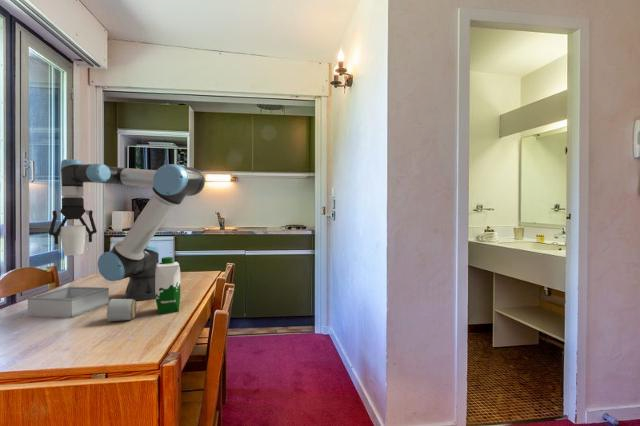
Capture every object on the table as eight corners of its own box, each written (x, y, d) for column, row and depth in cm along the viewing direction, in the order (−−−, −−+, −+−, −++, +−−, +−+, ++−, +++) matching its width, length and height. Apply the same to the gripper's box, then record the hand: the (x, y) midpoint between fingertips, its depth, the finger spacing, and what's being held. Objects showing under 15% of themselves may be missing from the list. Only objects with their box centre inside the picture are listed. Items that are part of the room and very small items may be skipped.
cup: (70, 253, 151) (69, 225, 151) (91, 252, 151) (91, 225, 151) (55, 256, 142) (54, 226, 142) (78, 255, 142) (77, 226, 142)
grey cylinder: (133, 322, 121) (133, 299, 121) (106, 324, 119) (106, 302, 119) (138, 313, 131) (138, 293, 131) (113, 315, 129) (113, 294, 129)
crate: (108, 303, 143) (108, 287, 143) (72, 317, 125) (71, 299, 125) (69, 302, 146) (69, 286, 146) (27, 315, 128) (27, 297, 128)
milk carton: (179, 305, 141) (178, 256, 140) (181, 312, 133) (181, 259, 132) (155, 308, 137) (154, 257, 136) (156, 315, 129) (155, 261, 128)
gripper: (102, 197, 155) (103, 248, 156) (40, 197, 143) (41, 252, 143) (103, 197, 149) (104, 249, 150) (38, 196, 137) (40, 254, 137)
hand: (74, 250), depth 146 cm, fingers closed on cup, 9 cm apart
